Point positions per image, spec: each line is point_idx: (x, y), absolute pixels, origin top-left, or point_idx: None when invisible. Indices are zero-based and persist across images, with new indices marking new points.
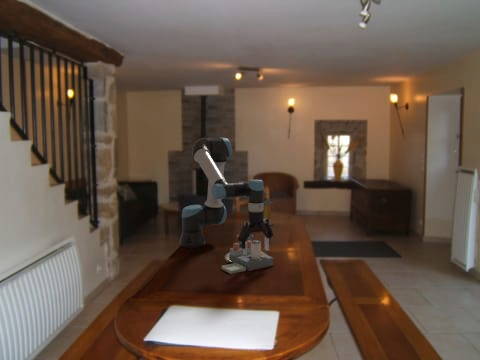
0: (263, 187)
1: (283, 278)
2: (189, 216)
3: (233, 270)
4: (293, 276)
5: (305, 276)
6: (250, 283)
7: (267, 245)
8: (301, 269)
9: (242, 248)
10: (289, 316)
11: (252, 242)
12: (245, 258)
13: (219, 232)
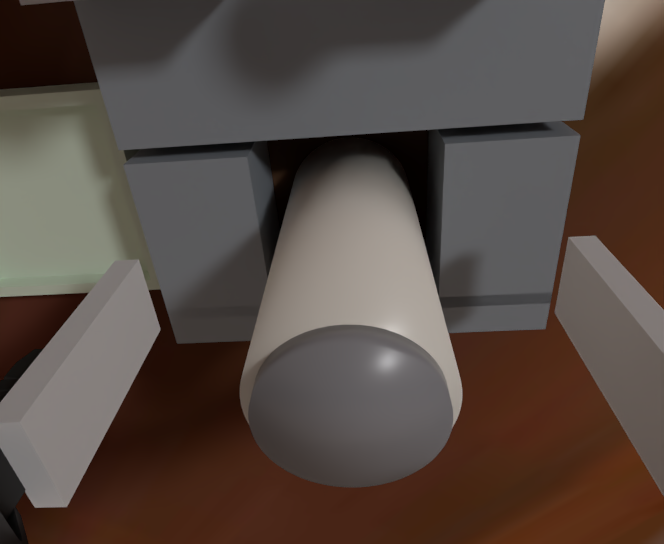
0: None
1: (366, 506)
2: None
3: (13, 294)
4: (452, 510)
5: (519, 537)
6: (110, 477)
7: (591, 363)
8: (625, 453)
9: None
10: None
11: (250, 422)
12: (206, 187)
13: None
